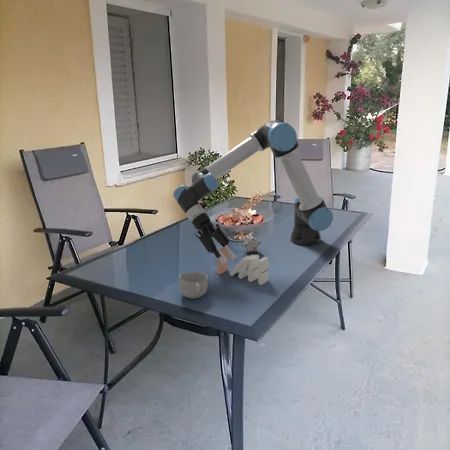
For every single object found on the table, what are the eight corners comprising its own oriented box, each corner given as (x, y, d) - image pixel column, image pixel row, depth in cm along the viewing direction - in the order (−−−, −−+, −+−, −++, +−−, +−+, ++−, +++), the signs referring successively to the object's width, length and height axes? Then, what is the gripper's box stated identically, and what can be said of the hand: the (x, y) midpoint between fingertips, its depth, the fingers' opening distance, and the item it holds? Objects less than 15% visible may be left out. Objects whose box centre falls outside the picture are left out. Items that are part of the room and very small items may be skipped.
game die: (254, 260, 208) (259, 248, 200) (237, 253, 209) (241, 241, 201) (259, 246, 214) (264, 234, 206) (243, 239, 215) (247, 227, 207)
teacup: (180, 290, 171) (179, 271, 169) (208, 288, 172) (207, 269, 170) (179, 306, 158) (178, 286, 155) (209, 304, 159) (208, 284, 156)
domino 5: (258, 284, 174) (257, 260, 171) (264, 279, 178) (264, 256, 175) (261, 285, 173) (261, 261, 170) (268, 280, 177) (268, 257, 174)
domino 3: (237, 276, 180) (245, 258, 175) (244, 272, 183) (252, 254, 178) (241, 279, 179) (248, 260, 174) (247, 275, 183) (255, 256, 178)
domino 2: (229, 273, 182) (242, 258, 177) (235, 269, 186) (248, 255, 181) (231, 276, 182) (245, 261, 176) (238, 272, 186) (251, 258, 180)
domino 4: (247, 280, 177) (248, 258, 174) (254, 276, 181) (255, 254, 177) (251, 282, 176) (252, 259, 173) (258, 277, 180) (259, 255, 176)
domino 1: (217, 273, 185) (216, 251, 183) (224, 269, 189) (224, 247, 186) (220, 274, 184) (220, 251, 182) (227, 270, 188) (227, 248, 185)
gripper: (207, 217, 197) (237, 259, 192) (179, 227, 184) (210, 272, 179) (216, 207, 193) (246, 250, 188) (188, 216, 179) (220, 262, 174)
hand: (229, 260), depth 183 cm, fingers closed on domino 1, 5 cm apart
